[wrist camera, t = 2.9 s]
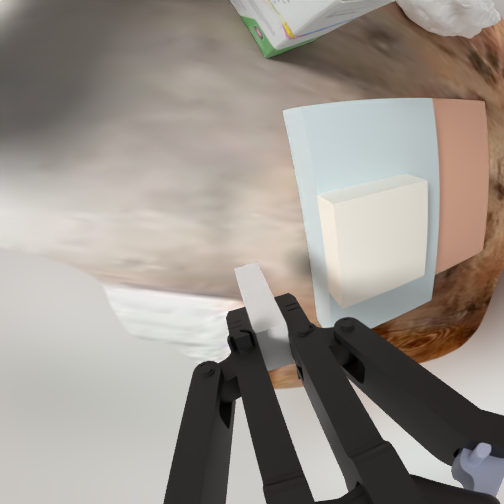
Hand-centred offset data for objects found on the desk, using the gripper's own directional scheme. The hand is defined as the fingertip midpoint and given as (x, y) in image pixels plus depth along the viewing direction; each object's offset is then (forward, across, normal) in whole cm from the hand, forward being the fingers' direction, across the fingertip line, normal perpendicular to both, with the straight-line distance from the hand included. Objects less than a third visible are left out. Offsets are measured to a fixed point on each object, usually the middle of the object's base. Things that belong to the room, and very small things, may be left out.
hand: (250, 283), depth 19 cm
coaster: (+2, +10, 0) cm, 10 cm away
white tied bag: (+6, +23, +20) cm, 31 cm away
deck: (+6, +12, 0) cm, 13 cm away
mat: (+6, +25, 0) cm, 26 cm away
